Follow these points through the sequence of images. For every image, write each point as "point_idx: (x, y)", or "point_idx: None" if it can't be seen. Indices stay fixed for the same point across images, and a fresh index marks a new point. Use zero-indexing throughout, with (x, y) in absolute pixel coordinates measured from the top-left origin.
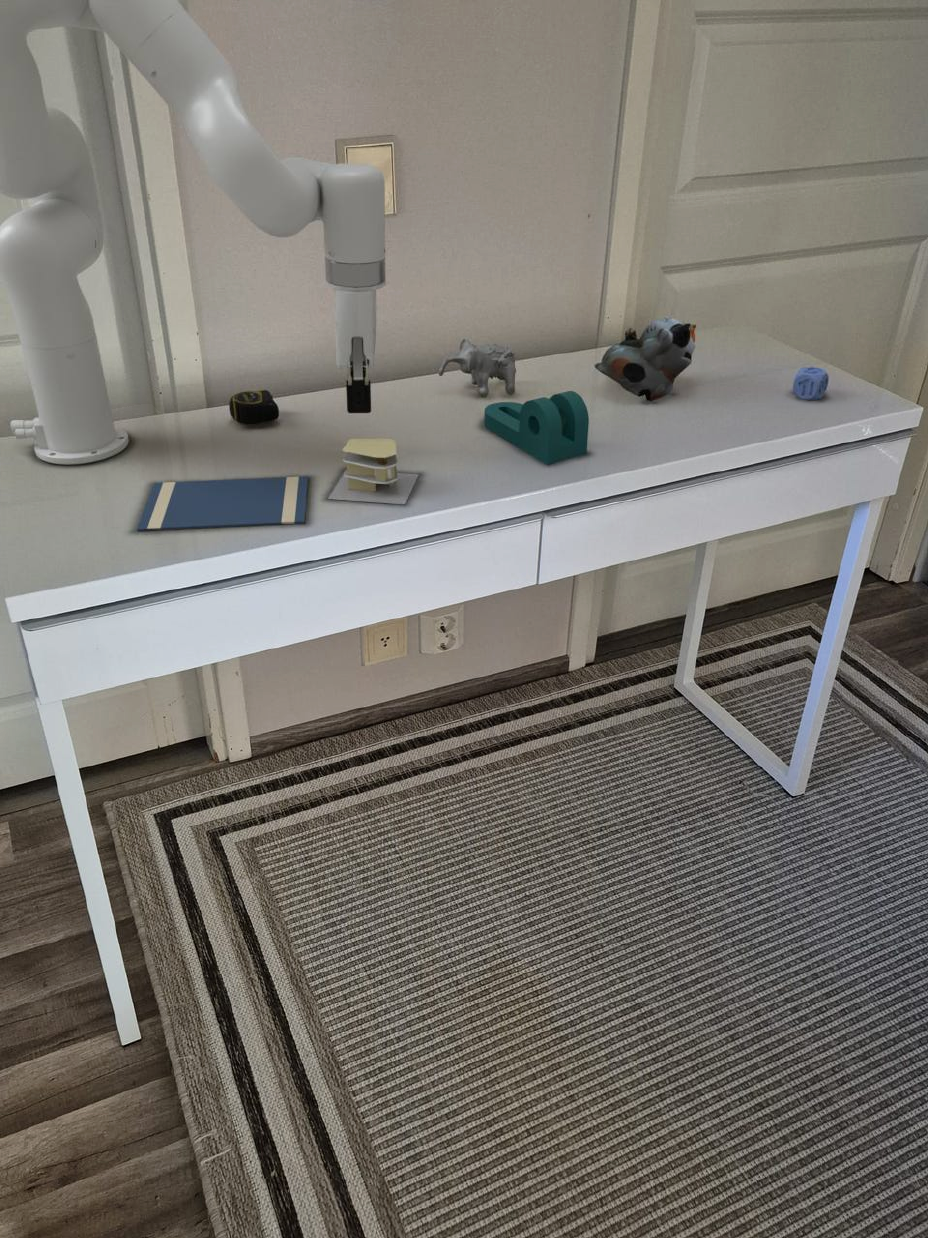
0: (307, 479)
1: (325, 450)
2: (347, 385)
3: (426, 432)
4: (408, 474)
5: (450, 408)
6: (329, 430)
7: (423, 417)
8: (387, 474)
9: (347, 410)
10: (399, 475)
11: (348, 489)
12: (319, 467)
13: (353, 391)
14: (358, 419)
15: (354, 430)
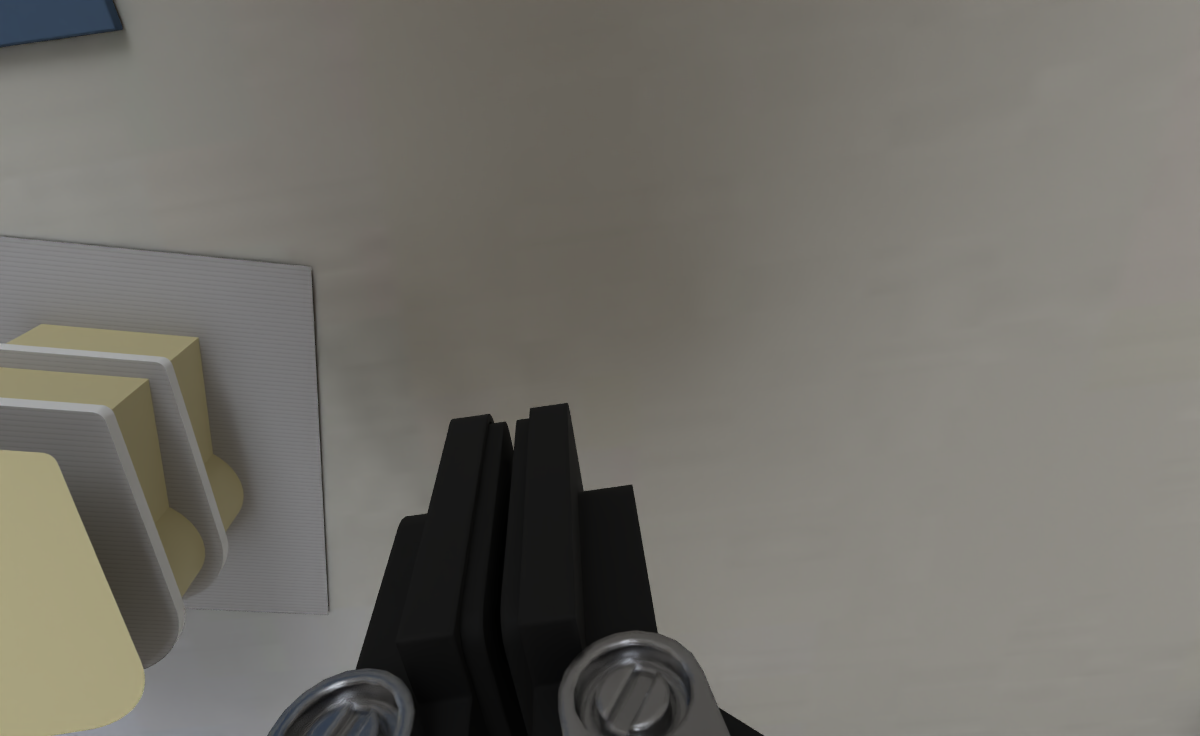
0: (55, 35)
1: (613, 80)
2: (403, 640)
3: (844, 590)
4: (318, 576)
5: (1124, 651)
6: (965, 53)
7: (1043, 559)
8: None
9: (452, 424)
10: (295, 542)
11: (37, 323)
12: (324, 83)
13: (365, 658)
14: (1112, 230)
15: (933, 230)
